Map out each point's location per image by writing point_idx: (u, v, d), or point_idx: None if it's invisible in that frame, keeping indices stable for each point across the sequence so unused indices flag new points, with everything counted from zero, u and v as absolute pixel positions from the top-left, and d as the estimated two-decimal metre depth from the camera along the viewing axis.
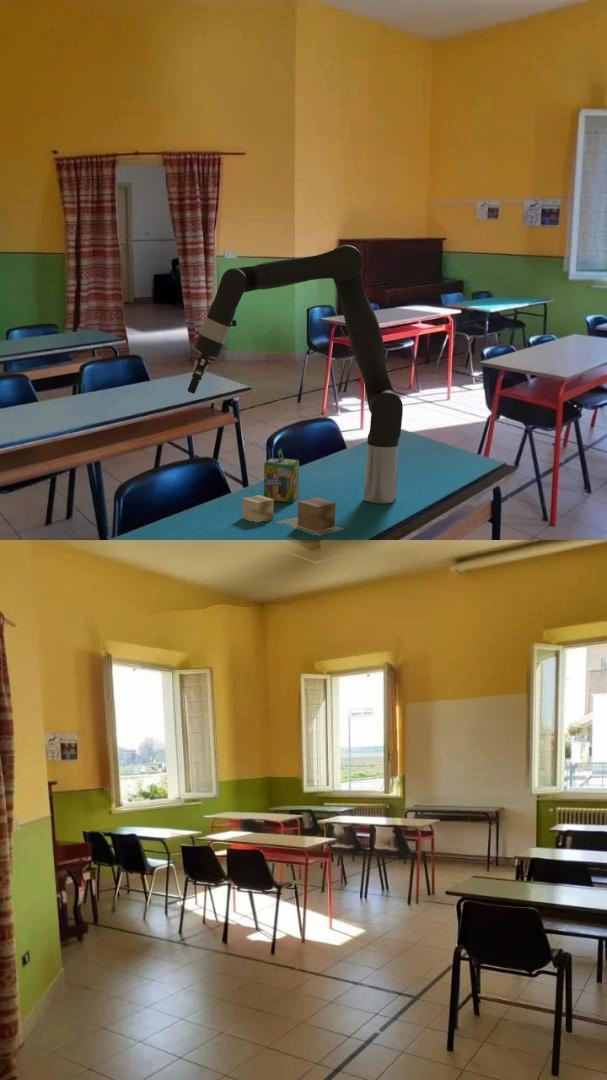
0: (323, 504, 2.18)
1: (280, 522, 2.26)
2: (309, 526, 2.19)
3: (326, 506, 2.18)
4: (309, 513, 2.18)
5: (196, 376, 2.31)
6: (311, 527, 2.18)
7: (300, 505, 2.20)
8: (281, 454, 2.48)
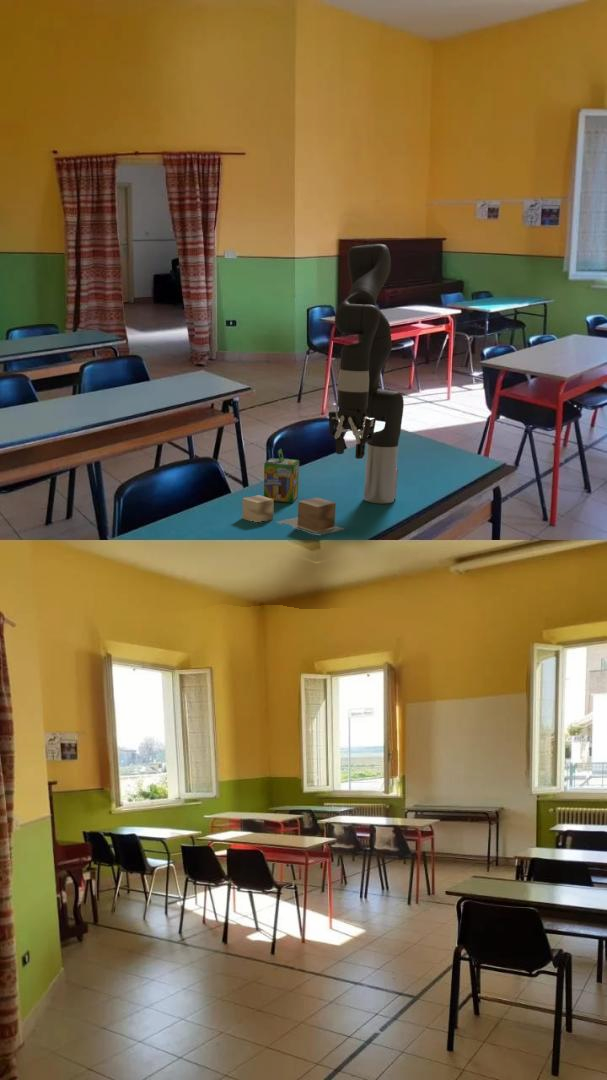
0: (323, 504, 2.18)
1: (280, 522, 2.26)
2: (309, 526, 2.19)
3: (326, 506, 2.18)
4: (309, 513, 2.18)
5: (368, 439, 2.03)
6: (311, 527, 2.18)
7: (300, 505, 2.20)
8: (281, 454, 2.48)
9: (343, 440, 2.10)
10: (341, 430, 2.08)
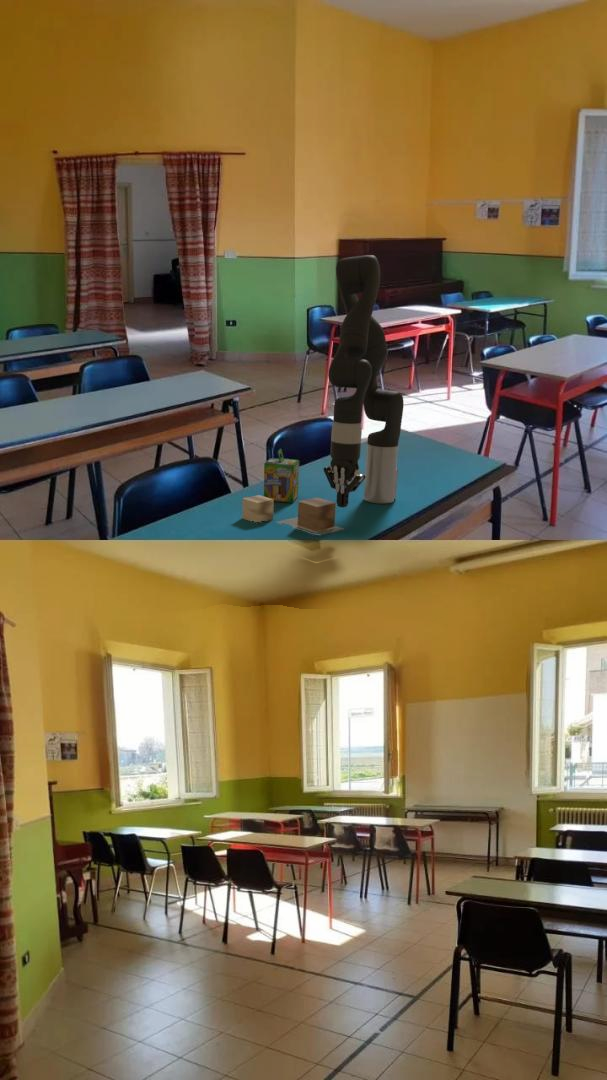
0: (323, 504, 2.18)
1: (280, 522, 2.26)
2: (309, 526, 2.19)
3: (326, 506, 2.18)
4: (309, 513, 2.18)
5: (352, 489, 2.10)
6: (311, 527, 2.18)
7: (300, 505, 2.20)
8: (281, 454, 2.48)
9: None
10: (339, 481, 2.11)
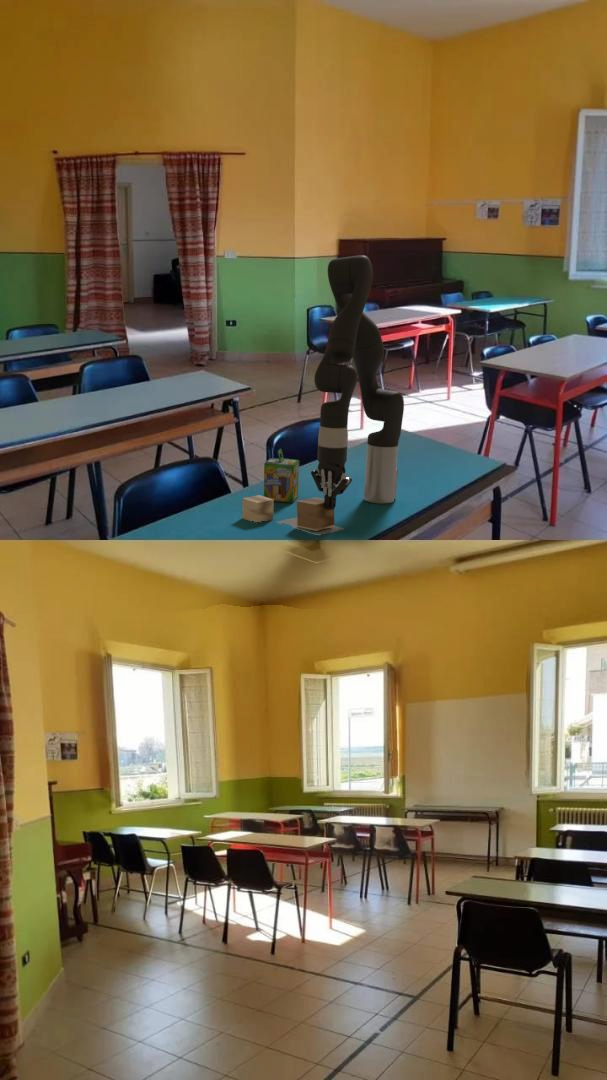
0: (321, 502, 2.18)
1: (280, 522, 2.26)
2: (309, 525, 2.19)
3: None
4: (308, 512, 2.18)
5: (339, 492, 2.14)
6: (311, 526, 2.18)
7: (299, 505, 2.20)
8: (281, 454, 2.48)
9: None
10: (326, 484, 2.15)
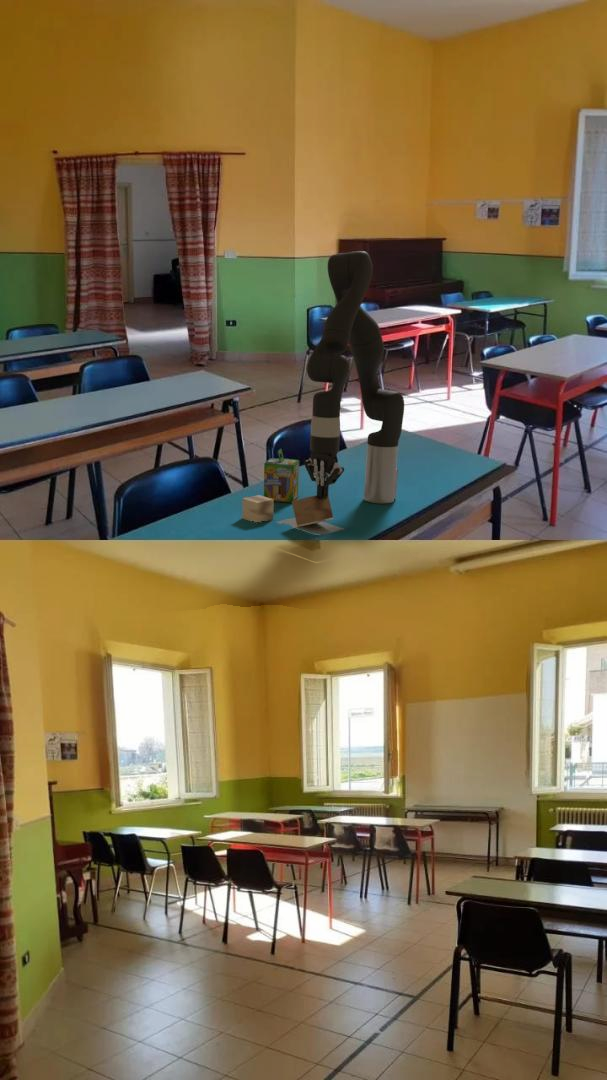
0: None
1: (280, 522, 2.26)
2: (308, 520, 2.19)
3: None
4: (304, 507, 2.19)
5: (331, 482, 2.15)
6: (309, 520, 2.18)
7: (294, 504, 2.21)
8: (281, 454, 2.48)
9: None
10: (319, 474, 2.16)
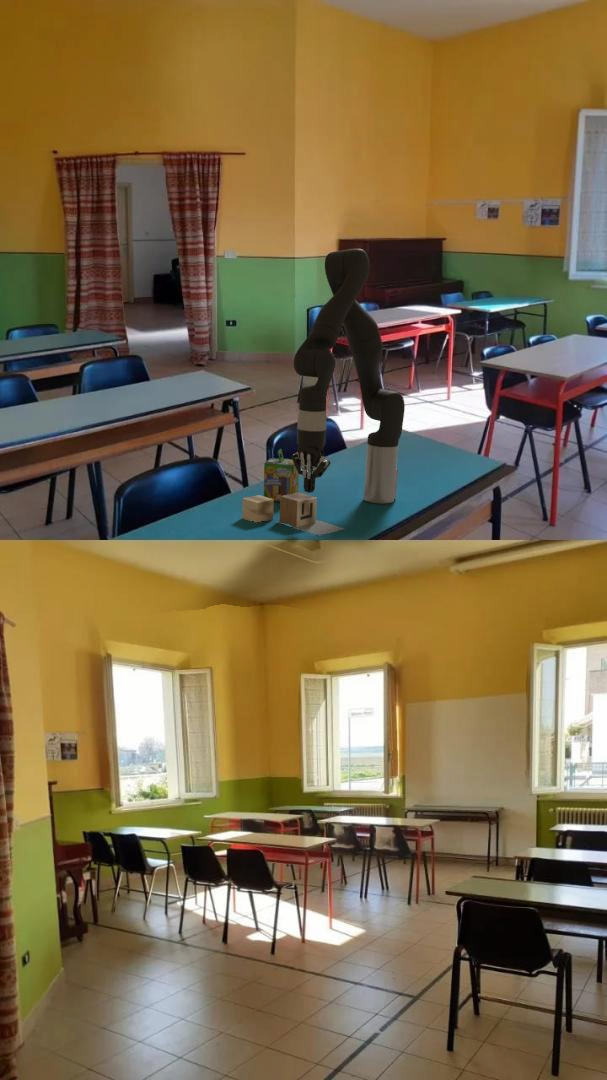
0: None
1: (280, 522, 2.26)
2: (295, 509, 2.22)
3: (290, 494, 2.27)
4: (286, 507, 2.24)
5: (317, 475, 2.18)
6: (295, 507, 2.21)
7: (282, 518, 2.26)
8: (281, 454, 2.48)
9: None
10: (306, 467, 2.19)
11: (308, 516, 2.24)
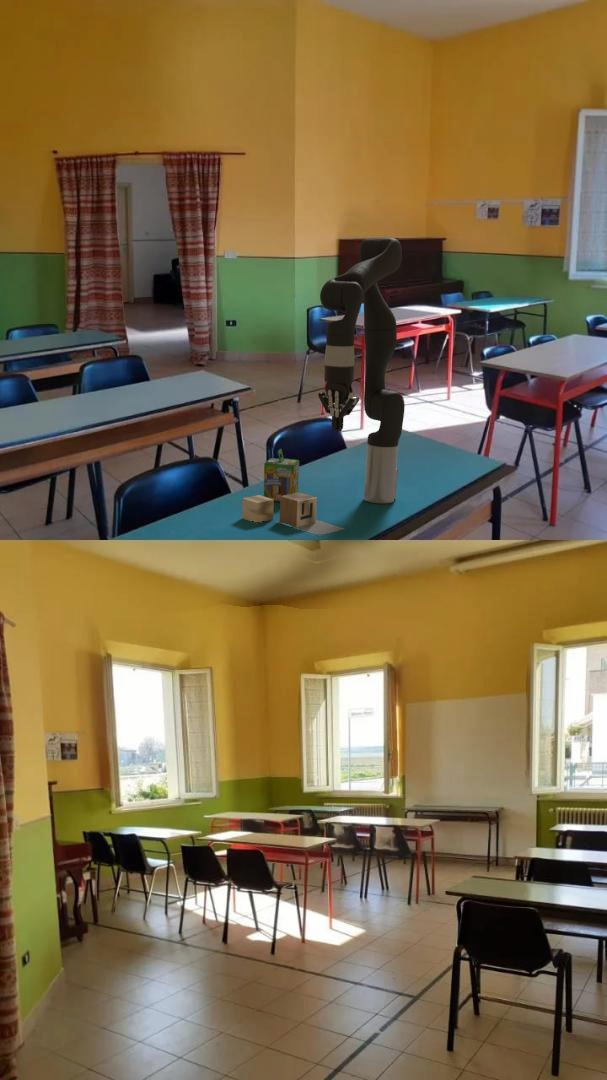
0: None
1: (280, 522, 2.26)
2: (295, 509, 2.22)
3: (290, 494, 2.27)
4: (286, 507, 2.24)
5: (346, 413, 2.13)
6: (295, 507, 2.21)
7: (282, 518, 2.26)
8: (281, 454, 2.48)
9: None
10: (334, 405, 2.15)
11: (308, 516, 2.24)
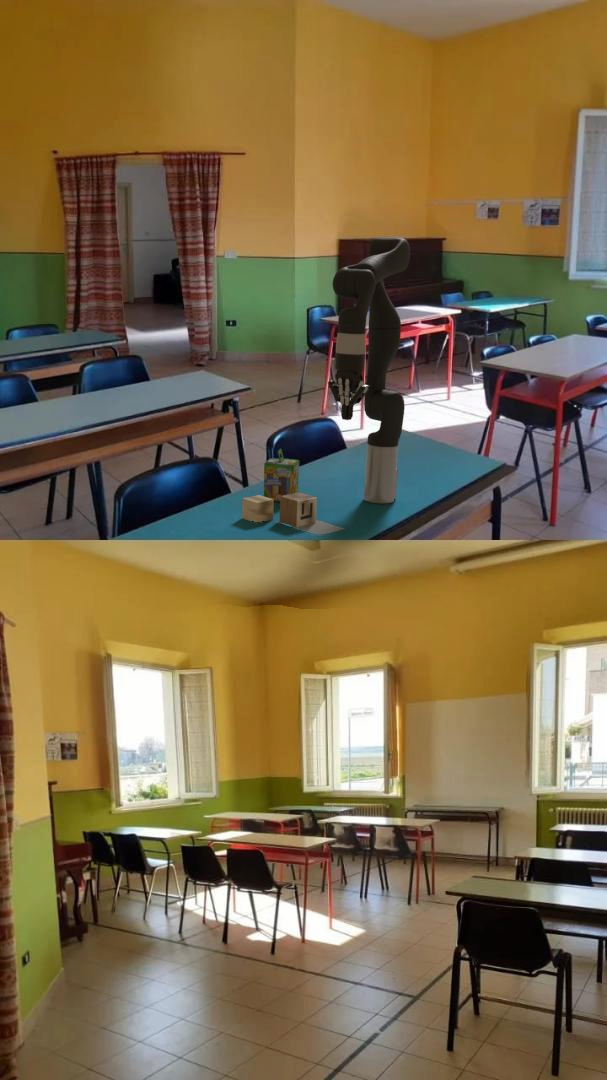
0: None
1: (280, 522, 2.26)
2: (295, 509, 2.22)
3: (290, 494, 2.27)
4: (286, 507, 2.24)
5: (356, 401, 2.13)
6: (295, 507, 2.21)
7: (282, 518, 2.26)
8: (281, 454, 2.48)
9: None
10: (344, 393, 2.14)
11: (308, 516, 2.24)
